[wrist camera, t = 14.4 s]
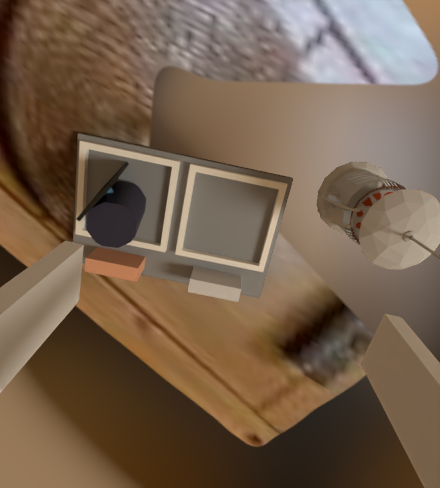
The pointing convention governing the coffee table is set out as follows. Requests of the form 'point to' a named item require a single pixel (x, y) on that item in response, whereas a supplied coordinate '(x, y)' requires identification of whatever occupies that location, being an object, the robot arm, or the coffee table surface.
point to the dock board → (184, 218)
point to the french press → (380, 215)
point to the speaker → (115, 212)
